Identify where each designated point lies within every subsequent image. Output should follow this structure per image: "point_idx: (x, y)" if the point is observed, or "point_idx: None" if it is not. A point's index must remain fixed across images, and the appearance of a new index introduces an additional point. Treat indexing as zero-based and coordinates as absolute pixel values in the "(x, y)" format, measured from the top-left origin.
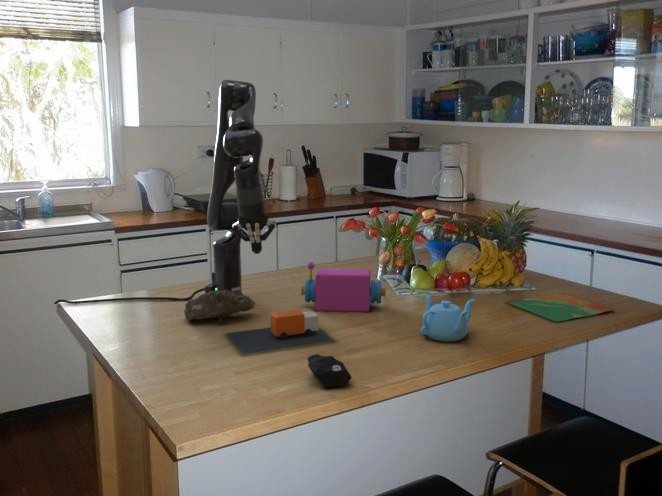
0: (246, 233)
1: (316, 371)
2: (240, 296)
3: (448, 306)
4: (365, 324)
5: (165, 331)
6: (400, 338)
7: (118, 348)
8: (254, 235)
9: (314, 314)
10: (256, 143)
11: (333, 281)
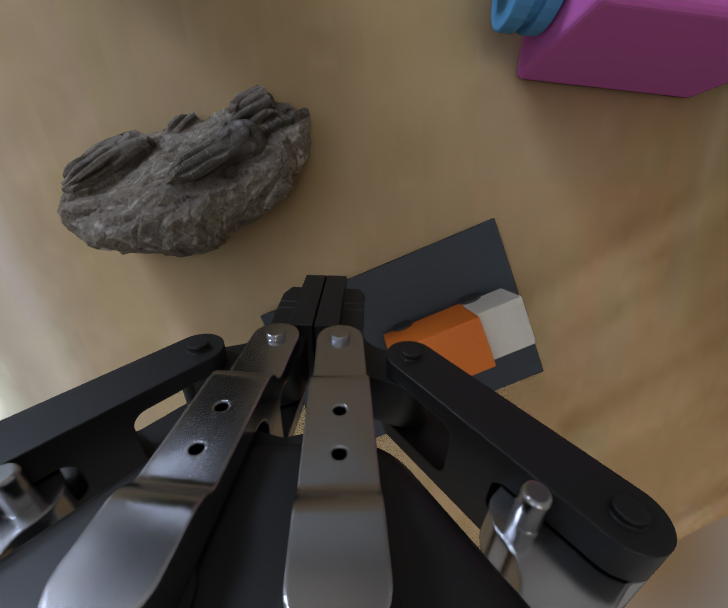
0: (184, 383)
1: None
2: (257, 187)
3: None
4: (647, 228)
5: (73, 287)
6: (707, 342)
7: (7, 415)
8: (290, 372)
9: (524, 332)
10: None
11: (665, 30)
